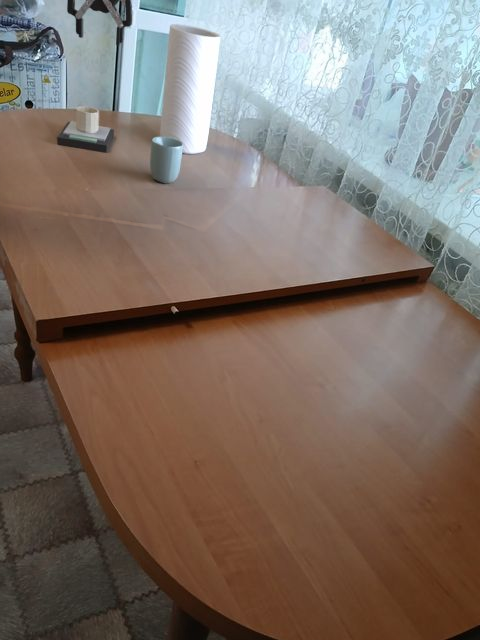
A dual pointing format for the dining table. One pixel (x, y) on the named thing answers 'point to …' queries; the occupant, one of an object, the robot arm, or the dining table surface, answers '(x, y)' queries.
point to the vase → (189, 86)
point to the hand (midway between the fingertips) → (99, 41)
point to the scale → (85, 138)
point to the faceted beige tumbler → (87, 119)
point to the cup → (165, 158)
